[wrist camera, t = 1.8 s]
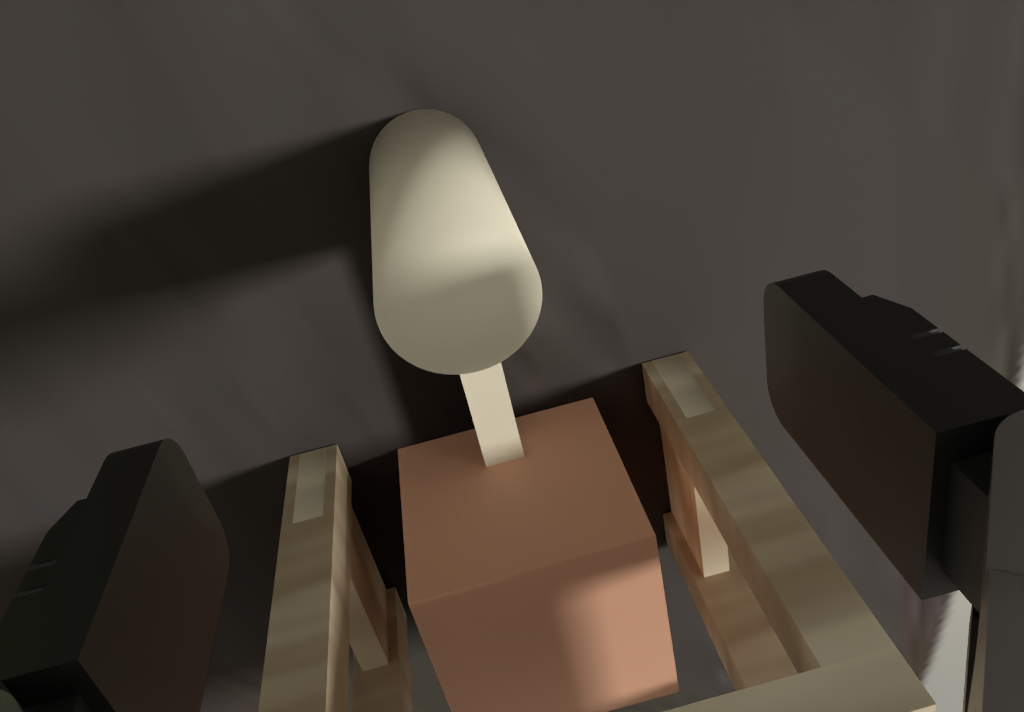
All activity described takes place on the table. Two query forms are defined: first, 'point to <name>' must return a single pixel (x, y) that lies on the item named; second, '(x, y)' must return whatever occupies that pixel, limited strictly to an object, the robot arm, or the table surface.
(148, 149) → the table surface
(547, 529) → the cube base joystick
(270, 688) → the beige u-shaped block
